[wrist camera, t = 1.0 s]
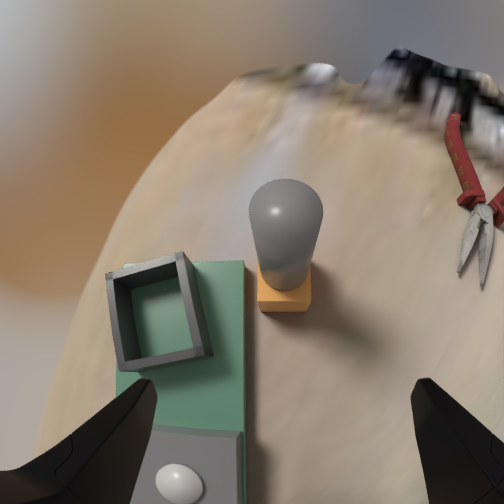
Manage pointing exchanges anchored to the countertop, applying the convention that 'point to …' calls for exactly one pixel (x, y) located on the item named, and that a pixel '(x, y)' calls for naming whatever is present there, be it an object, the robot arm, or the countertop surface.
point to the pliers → (473, 199)
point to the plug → (285, 243)
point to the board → (178, 338)
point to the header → (125, 321)
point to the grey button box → (190, 467)
